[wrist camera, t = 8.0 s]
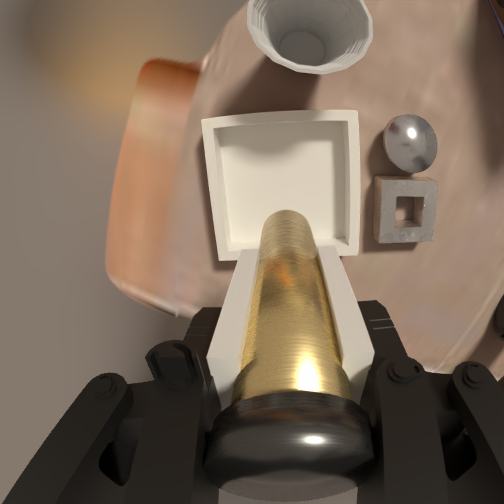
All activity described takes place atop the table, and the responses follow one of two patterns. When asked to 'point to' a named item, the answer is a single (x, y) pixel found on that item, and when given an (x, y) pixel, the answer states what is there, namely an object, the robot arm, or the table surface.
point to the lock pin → (290, 386)
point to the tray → (284, 175)
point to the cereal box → (498, 12)
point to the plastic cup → (311, 32)
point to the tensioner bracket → (406, 182)
